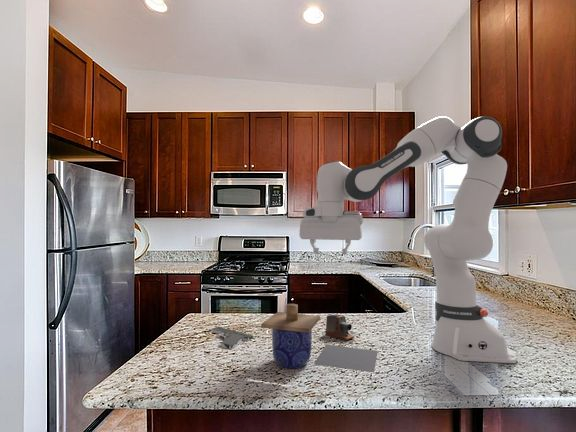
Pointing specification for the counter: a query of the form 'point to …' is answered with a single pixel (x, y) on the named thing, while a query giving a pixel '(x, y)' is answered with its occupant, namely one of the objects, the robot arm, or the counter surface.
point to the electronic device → (338, 327)
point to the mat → (348, 358)
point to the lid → (291, 320)
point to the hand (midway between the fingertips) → (330, 253)
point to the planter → (291, 348)
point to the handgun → (231, 337)
